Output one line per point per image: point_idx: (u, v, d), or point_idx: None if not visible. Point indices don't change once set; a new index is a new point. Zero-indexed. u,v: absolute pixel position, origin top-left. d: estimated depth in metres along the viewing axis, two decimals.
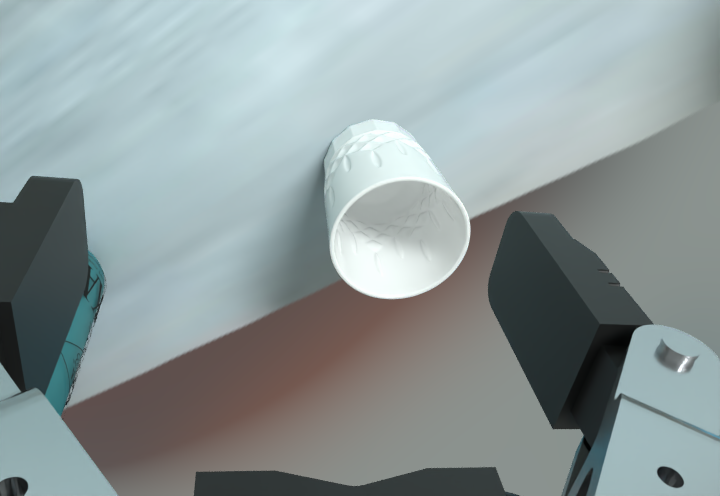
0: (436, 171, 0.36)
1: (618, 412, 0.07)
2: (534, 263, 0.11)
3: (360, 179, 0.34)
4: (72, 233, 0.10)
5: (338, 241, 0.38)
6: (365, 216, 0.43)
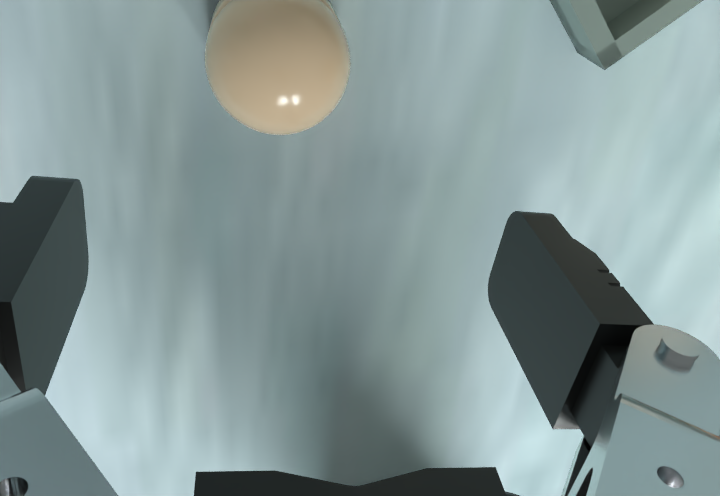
0: None
1: (618, 412, 0.07)
2: (534, 263, 0.11)
3: None
4: (72, 233, 0.10)
5: None
6: None
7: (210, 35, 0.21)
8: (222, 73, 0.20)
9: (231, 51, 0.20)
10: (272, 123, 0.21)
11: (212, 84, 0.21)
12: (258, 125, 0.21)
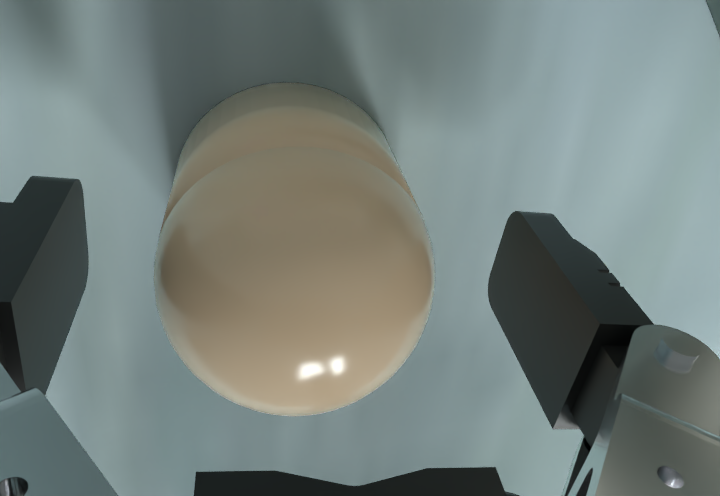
0: None
1: (618, 412, 0.07)
2: (534, 263, 0.11)
3: None
4: (72, 233, 0.10)
5: None
6: None
7: (162, 251, 0.10)
8: (185, 333, 0.10)
9: (201, 300, 0.09)
10: (288, 414, 0.11)
11: (168, 337, 0.11)
12: (260, 411, 0.11)
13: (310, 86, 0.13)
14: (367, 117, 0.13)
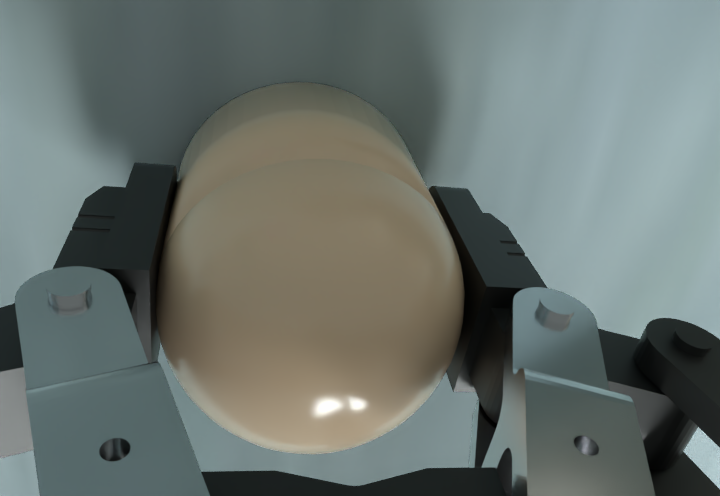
0: None
1: (526, 390, 0.07)
2: None
3: None
4: None
5: None
6: None
7: (165, 274, 0.09)
8: (191, 368, 0.09)
9: (210, 333, 0.08)
10: (304, 453, 0.10)
11: (171, 368, 0.10)
12: (272, 449, 0.10)
13: (324, 87, 0.12)
14: (386, 121, 0.12)
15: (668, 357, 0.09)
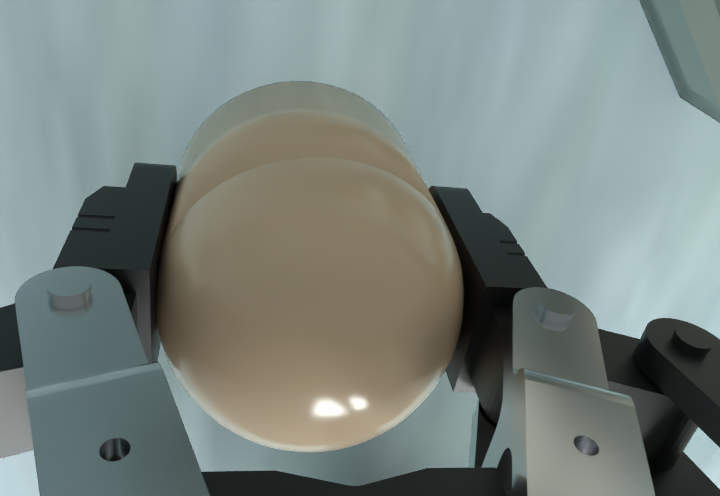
0: None
1: (526, 390, 0.07)
2: None
3: None
4: None
5: None
6: None
7: (165, 273, 0.09)
8: (191, 366, 0.09)
9: (210, 331, 0.08)
10: (304, 451, 0.10)
11: (171, 367, 0.10)
12: None
13: (324, 86, 0.12)
14: (385, 120, 0.12)
15: (668, 357, 0.09)
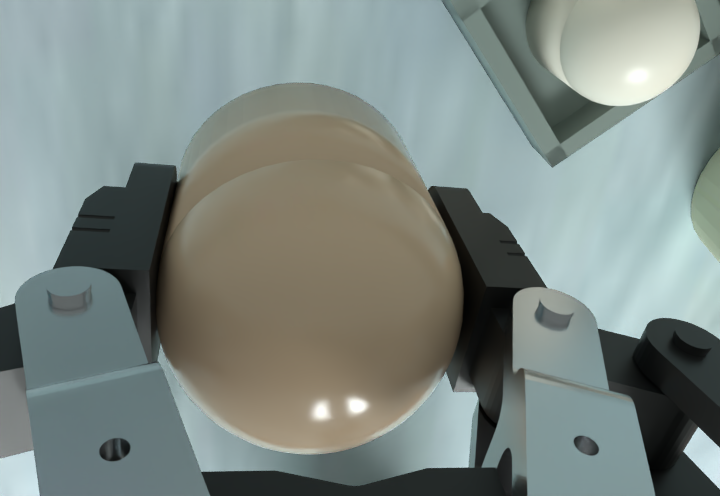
0: None
1: (526, 390, 0.07)
2: None
3: None
4: None
5: None
6: None
7: (165, 275, 0.09)
8: (190, 369, 0.09)
9: (210, 334, 0.08)
10: None
11: (171, 369, 0.10)
12: None
13: (324, 87, 0.12)
14: (385, 121, 0.12)
15: (668, 357, 0.09)
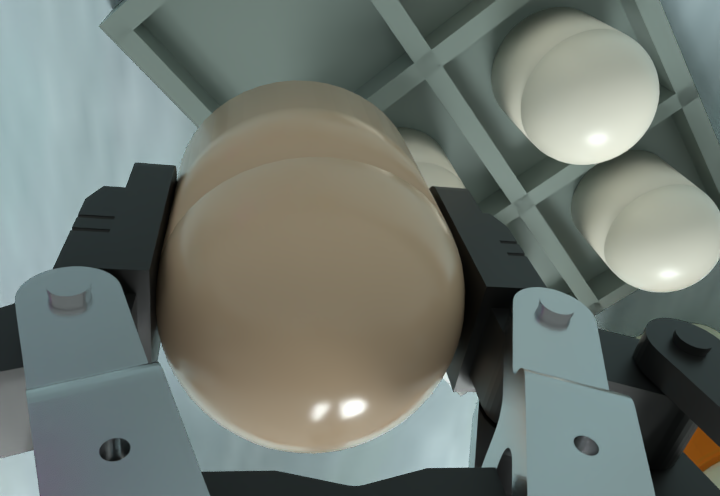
0: None
1: (526, 390, 0.07)
2: None
3: None
4: None
5: None
6: None
7: (164, 273, 0.09)
8: (191, 367, 0.09)
9: (210, 332, 0.08)
10: (304, 452, 0.10)
11: (171, 367, 0.10)
12: None
13: (324, 85, 0.12)
14: (386, 119, 0.12)
15: (668, 357, 0.09)
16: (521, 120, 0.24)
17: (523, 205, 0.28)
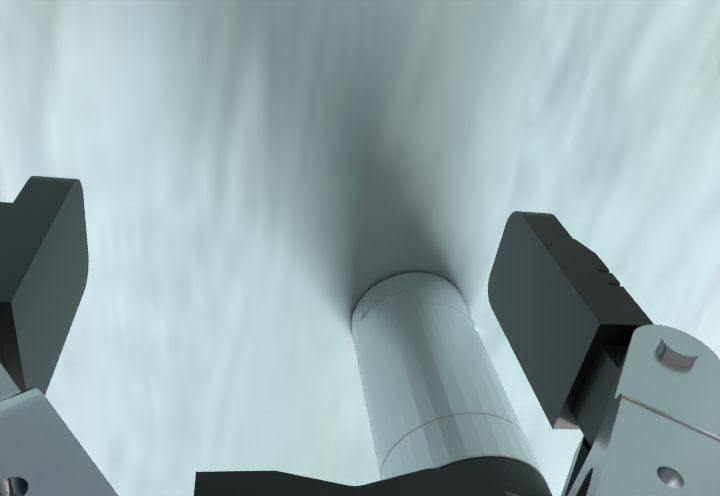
0: None
1: (618, 412, 0.07)
2: (534, 263, 0.11)
3: None
4: (72, 233, 0.10)
5: None
6: None
7: None
8: None
9: None
10: None
11: None
12: None
13: None
14: None
15: None
16: None
17: None
